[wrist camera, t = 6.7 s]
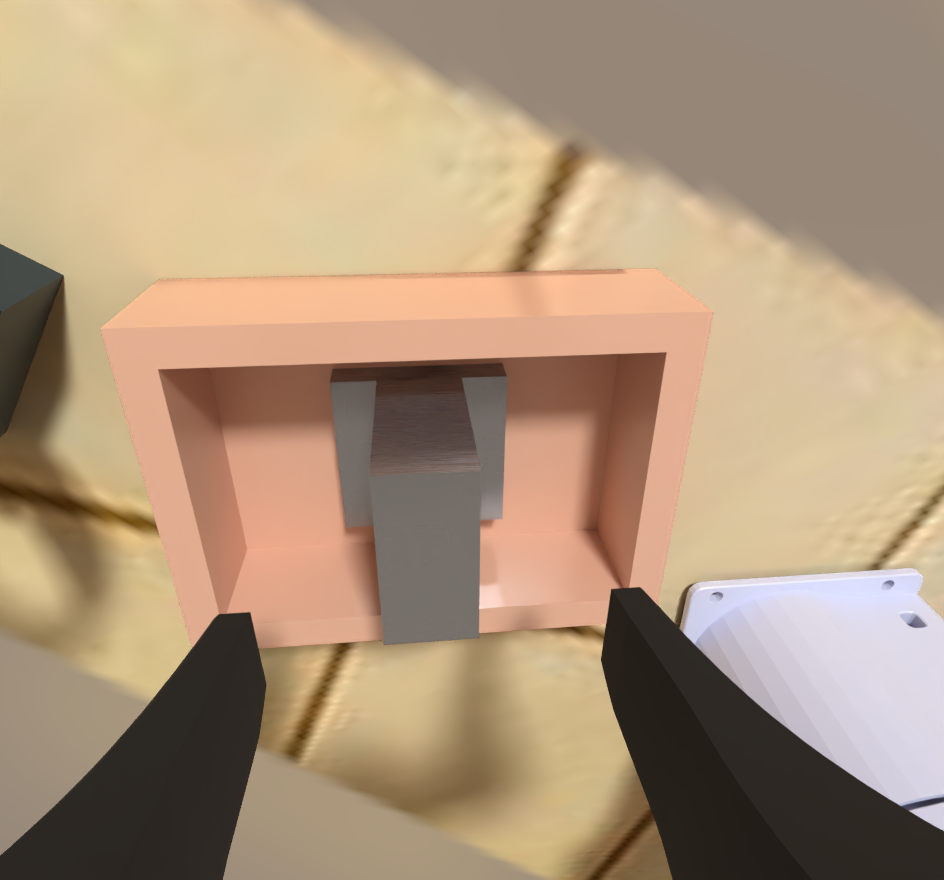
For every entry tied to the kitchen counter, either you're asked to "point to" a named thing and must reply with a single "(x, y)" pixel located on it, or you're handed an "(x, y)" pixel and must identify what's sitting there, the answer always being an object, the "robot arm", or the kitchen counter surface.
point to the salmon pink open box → (392, 345)
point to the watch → (21, 322)
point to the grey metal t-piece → (423, 486)
